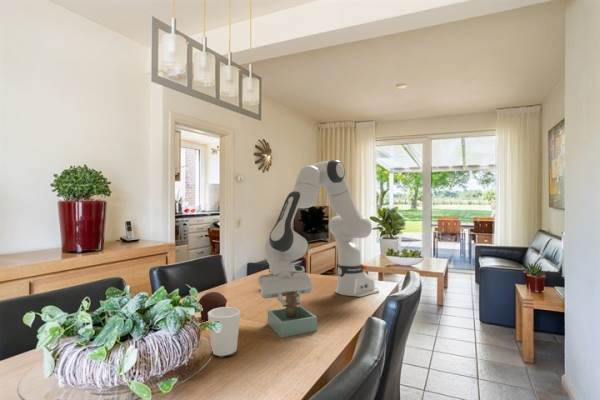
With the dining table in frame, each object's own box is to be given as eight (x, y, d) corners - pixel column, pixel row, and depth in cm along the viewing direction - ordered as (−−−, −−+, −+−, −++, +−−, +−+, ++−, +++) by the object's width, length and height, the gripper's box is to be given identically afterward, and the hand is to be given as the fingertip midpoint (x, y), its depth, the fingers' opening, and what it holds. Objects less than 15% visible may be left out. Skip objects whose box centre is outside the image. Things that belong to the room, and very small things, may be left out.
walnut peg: (294, 313, 125) (294, 292, 125) (298, 317, 121) (298, 295, 121) (284, 315, 123) (284, 293, 123) (288, 318, 120) (288, 296, 120)
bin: (300, 318, 132) (300, 305, 132) (317, 330, 119) (317, 316, 119) (267, 323, 126) (267, 310, 126) (281, 337, 113) (280, 323, 113)
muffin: (193, 316, 133) (193, 292, 133) (219, 311, 140) (219, 287, 140) (205, 325, 124) (204, 299, 124) (232, 319, 131) (231, 294, 131)
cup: (224, 363, 95) (224, 319, 95) (200, 355, 101) (200, 313, 101) (247, 350, 104) (247, 310, 104) (224, 343, 109) (224, 304, 109)
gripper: (258, 270, 124) (267, 304, 116) (307, 266, 133) (318, 297, 124) (255, 280, 128) (263, 313, 120) (302, 275, 137) (313, 305, 128)
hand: (292, 304), depth 122 cm, fingers closed on walnut peg, 4 cm apart
